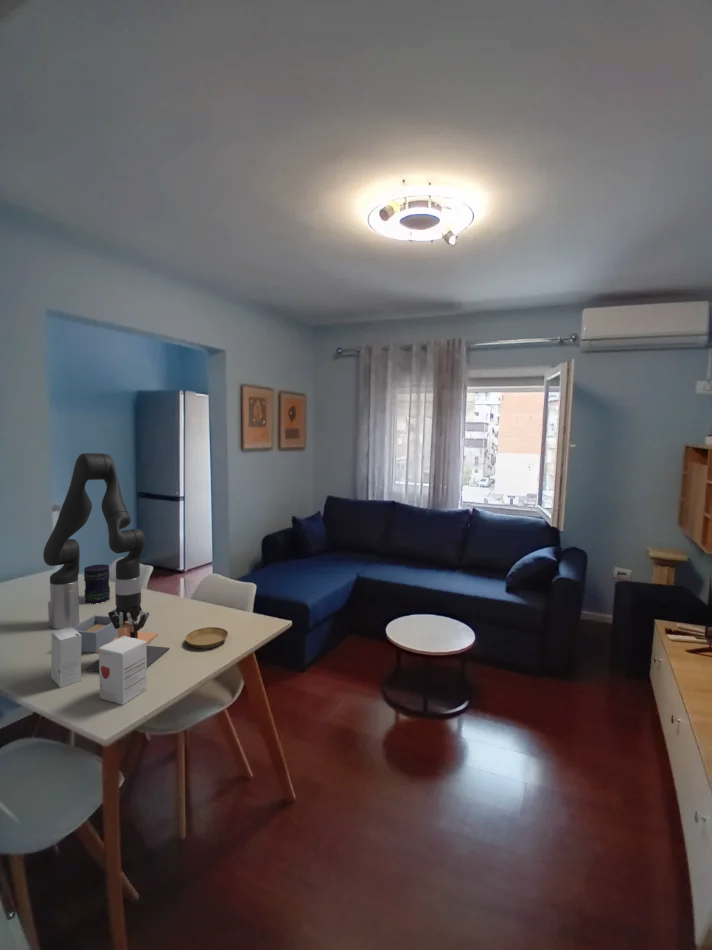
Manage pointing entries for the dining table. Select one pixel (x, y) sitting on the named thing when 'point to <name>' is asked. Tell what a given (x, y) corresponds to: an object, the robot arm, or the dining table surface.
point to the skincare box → (66, 656)
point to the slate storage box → (96, 632)
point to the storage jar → (96, 583)
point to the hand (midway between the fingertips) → (129, 641)
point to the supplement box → (123, 669)
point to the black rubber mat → (152, 656)
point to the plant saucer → (206, 637)
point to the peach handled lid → (125, 631)
